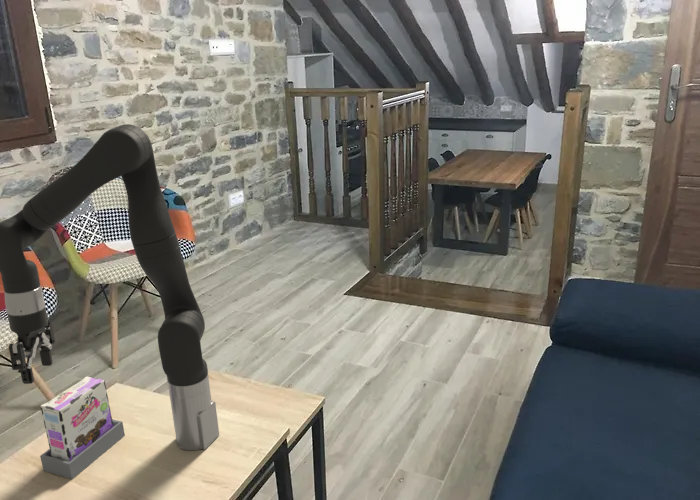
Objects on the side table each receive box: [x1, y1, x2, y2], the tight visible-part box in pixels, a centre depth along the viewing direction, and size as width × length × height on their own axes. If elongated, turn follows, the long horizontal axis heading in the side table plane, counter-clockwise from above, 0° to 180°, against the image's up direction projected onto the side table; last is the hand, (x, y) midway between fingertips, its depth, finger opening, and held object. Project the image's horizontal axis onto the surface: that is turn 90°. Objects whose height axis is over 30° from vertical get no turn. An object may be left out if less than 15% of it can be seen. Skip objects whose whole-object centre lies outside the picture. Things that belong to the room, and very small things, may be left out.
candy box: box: [40, 376, 113, 462], centre depth 138 cm, size 14×6×16 cm, turn 158°
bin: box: [39, 418, 125, 480], centre depth 140 cm, size 9×17×4 cm, turn 158°
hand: (38, 373), depth 136 cm, fingers open, 8 cm apart
